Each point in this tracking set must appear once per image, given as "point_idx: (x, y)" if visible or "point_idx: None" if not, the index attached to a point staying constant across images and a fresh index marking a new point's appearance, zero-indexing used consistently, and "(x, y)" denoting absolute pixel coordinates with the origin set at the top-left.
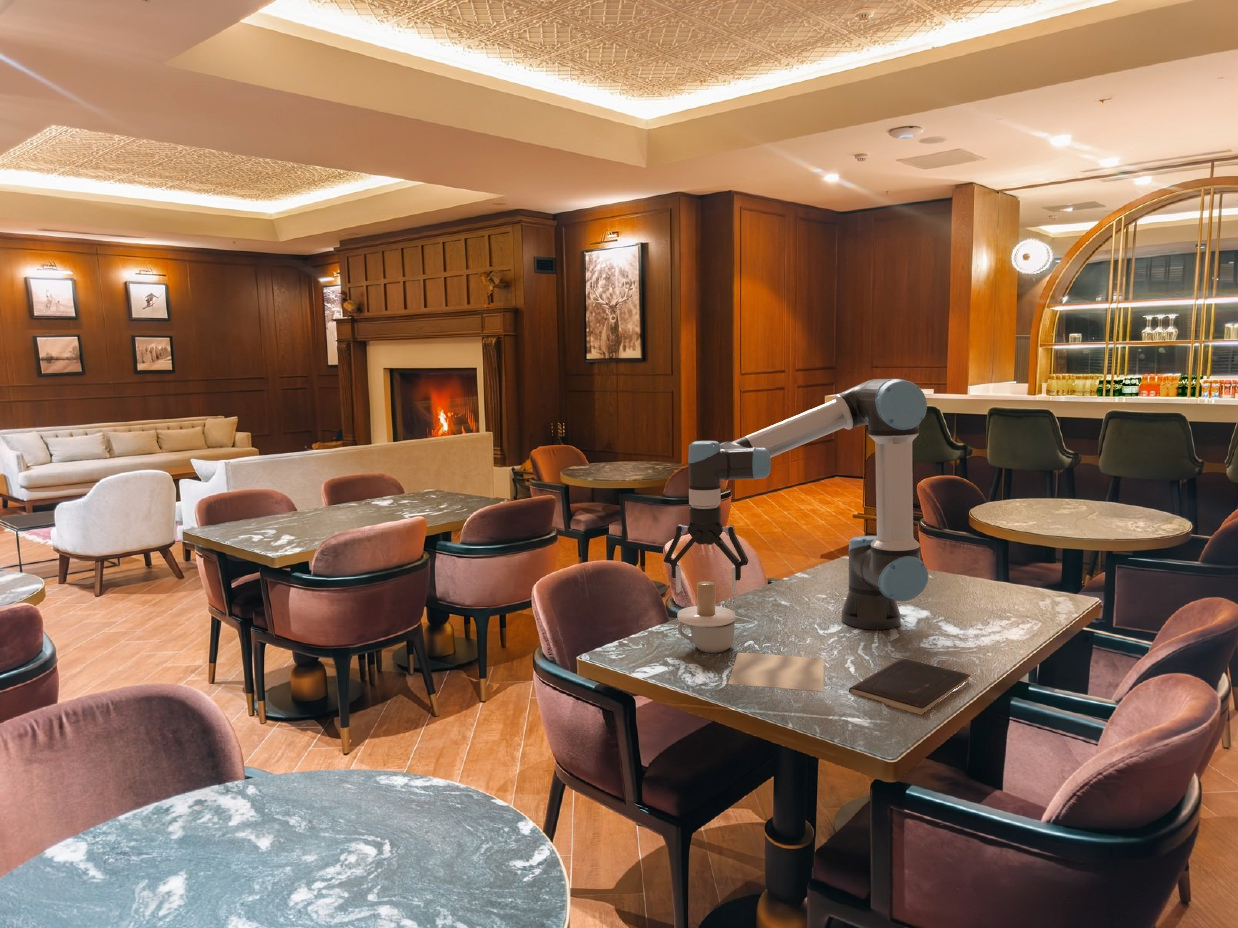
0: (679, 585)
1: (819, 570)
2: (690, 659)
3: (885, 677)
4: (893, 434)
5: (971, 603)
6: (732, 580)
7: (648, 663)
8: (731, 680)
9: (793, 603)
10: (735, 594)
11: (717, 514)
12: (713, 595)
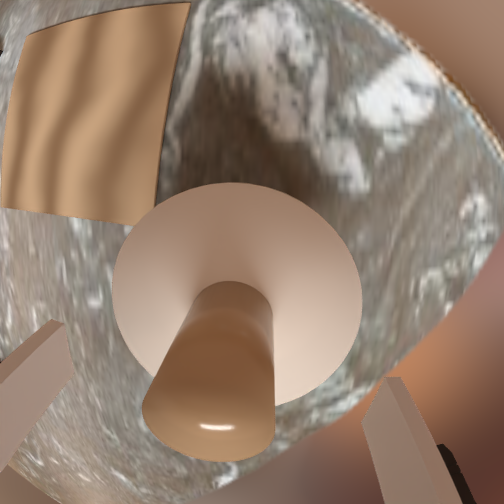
0: (391, 414)
1: None
2: (294, 175)
3: None
4: None
5: None
6: (12, 368)
7: (410, 146)
8: (179, 22)
9: (107, 471)
10: (51, 321)
11: None
12: (169, 348)
